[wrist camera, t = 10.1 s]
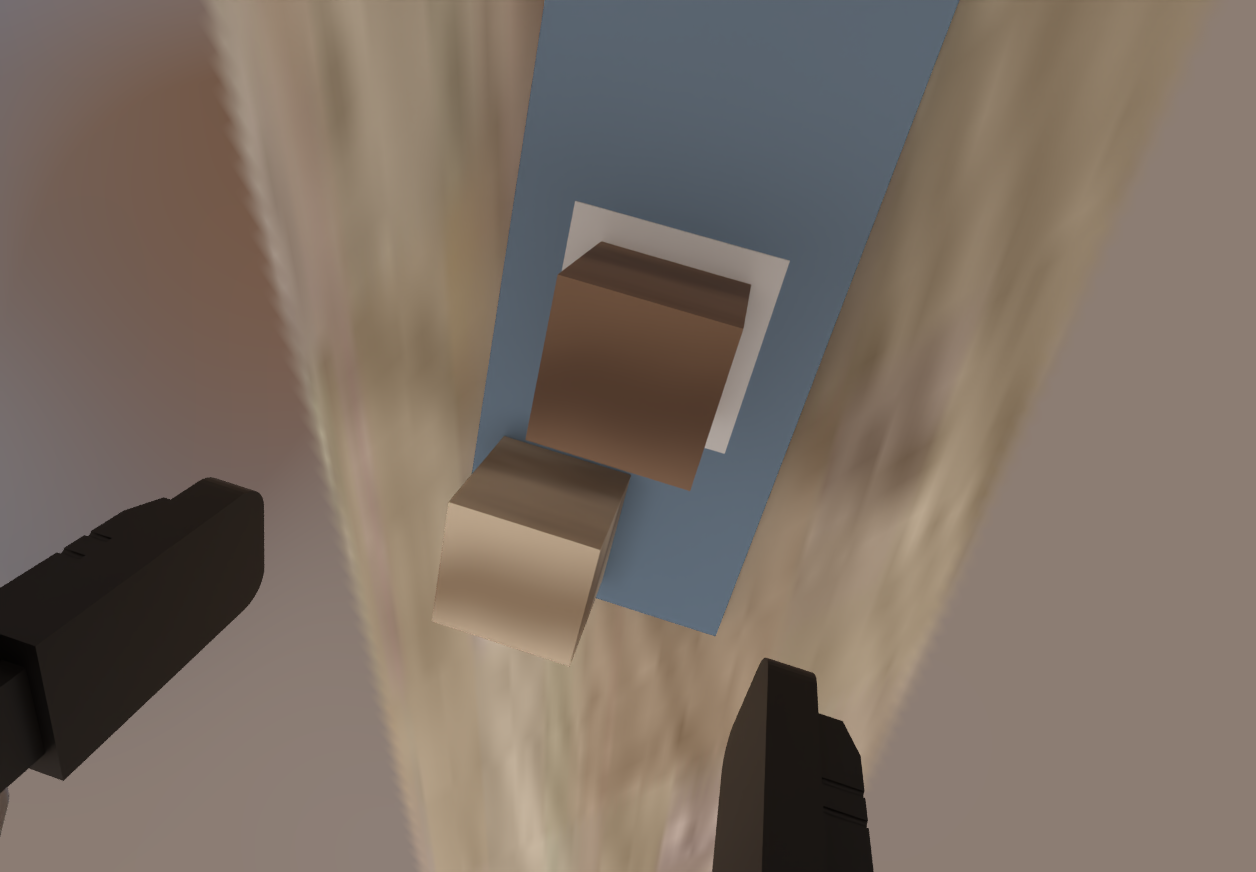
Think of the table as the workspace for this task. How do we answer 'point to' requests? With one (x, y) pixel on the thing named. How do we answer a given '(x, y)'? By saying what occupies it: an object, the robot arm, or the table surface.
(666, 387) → the walnut block
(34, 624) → the robot arm
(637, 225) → the board
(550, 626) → the maple block
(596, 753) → the table surface
